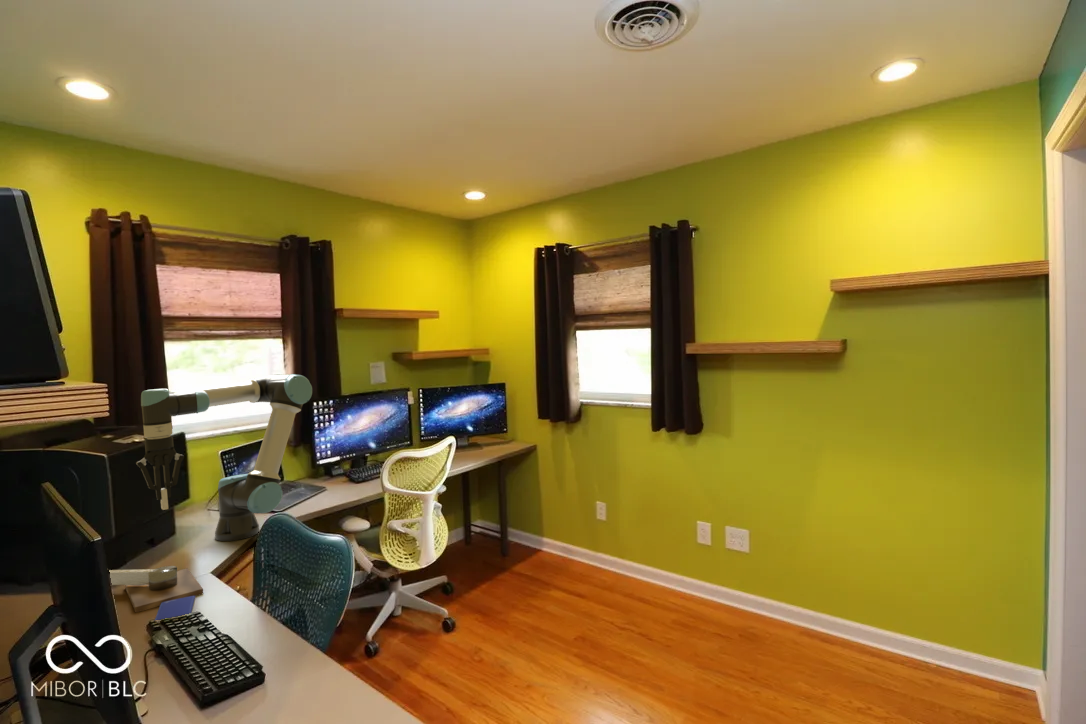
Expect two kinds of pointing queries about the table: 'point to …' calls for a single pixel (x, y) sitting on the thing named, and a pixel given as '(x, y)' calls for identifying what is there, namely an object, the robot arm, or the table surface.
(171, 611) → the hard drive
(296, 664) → the table surface
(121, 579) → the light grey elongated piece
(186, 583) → the base plate
